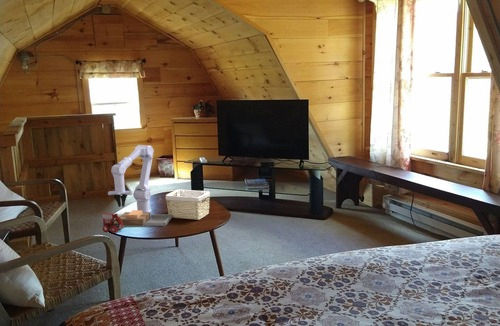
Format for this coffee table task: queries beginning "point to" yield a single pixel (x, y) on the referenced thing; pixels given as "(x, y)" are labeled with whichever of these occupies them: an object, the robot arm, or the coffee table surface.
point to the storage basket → (188, 204)
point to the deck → (135, 219)
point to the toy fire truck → (111, 222)
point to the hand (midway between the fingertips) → (121, 206)
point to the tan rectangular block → (135, 214)
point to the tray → (158, 220)
